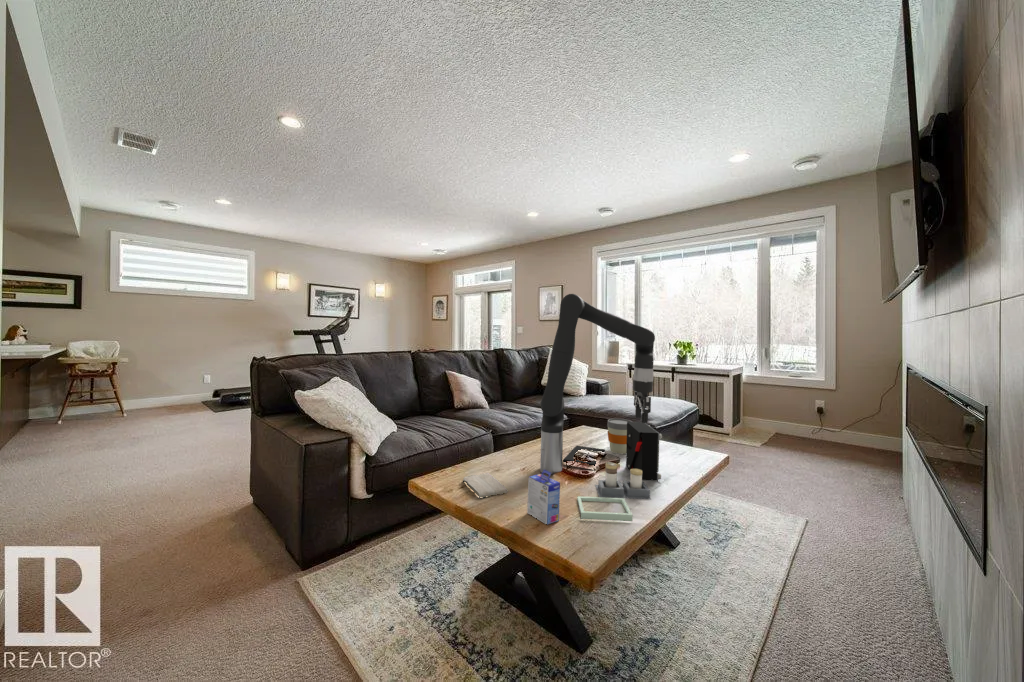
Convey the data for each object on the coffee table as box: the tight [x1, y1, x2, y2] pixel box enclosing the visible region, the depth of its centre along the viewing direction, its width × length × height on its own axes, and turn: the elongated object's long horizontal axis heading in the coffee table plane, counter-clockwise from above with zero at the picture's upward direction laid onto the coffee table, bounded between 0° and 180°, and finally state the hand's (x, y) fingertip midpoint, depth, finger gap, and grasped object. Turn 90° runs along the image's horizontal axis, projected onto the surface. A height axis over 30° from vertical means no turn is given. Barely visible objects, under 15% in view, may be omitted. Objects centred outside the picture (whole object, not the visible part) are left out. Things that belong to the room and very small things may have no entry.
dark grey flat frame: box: [562, 445, 606, 466], centre depth 178 cm, size 14×23×3 cm, turn 156°
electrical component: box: [625, 421, 663, 483], centre depth 160 cm, size 18×10×20 cm, turn 179°
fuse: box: [604, 461, 618, 488], centre depth 141 cm, size 4×4×10 cm
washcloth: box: [462, 472, 508, 499], centre depth 145 cm, size 12×18×3 cm, turn 29°
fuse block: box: [594, 469, 652, 500], centre depth 140 cm, size 18×11×9 cm, turn 86°
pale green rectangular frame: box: [576, 495, 634, 522], centre depth 127 cm, size 16×12×2 cm
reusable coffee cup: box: [606, 418, 633, 455], centre depth 191 cm, size 13×13×15 cm
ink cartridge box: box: [526, 470, 561, 526], centre depth 122 cm, size 10×6×14 cm, turn 38°
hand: (641, 420), depth 152 cm, fingers open, 8 cm apart
